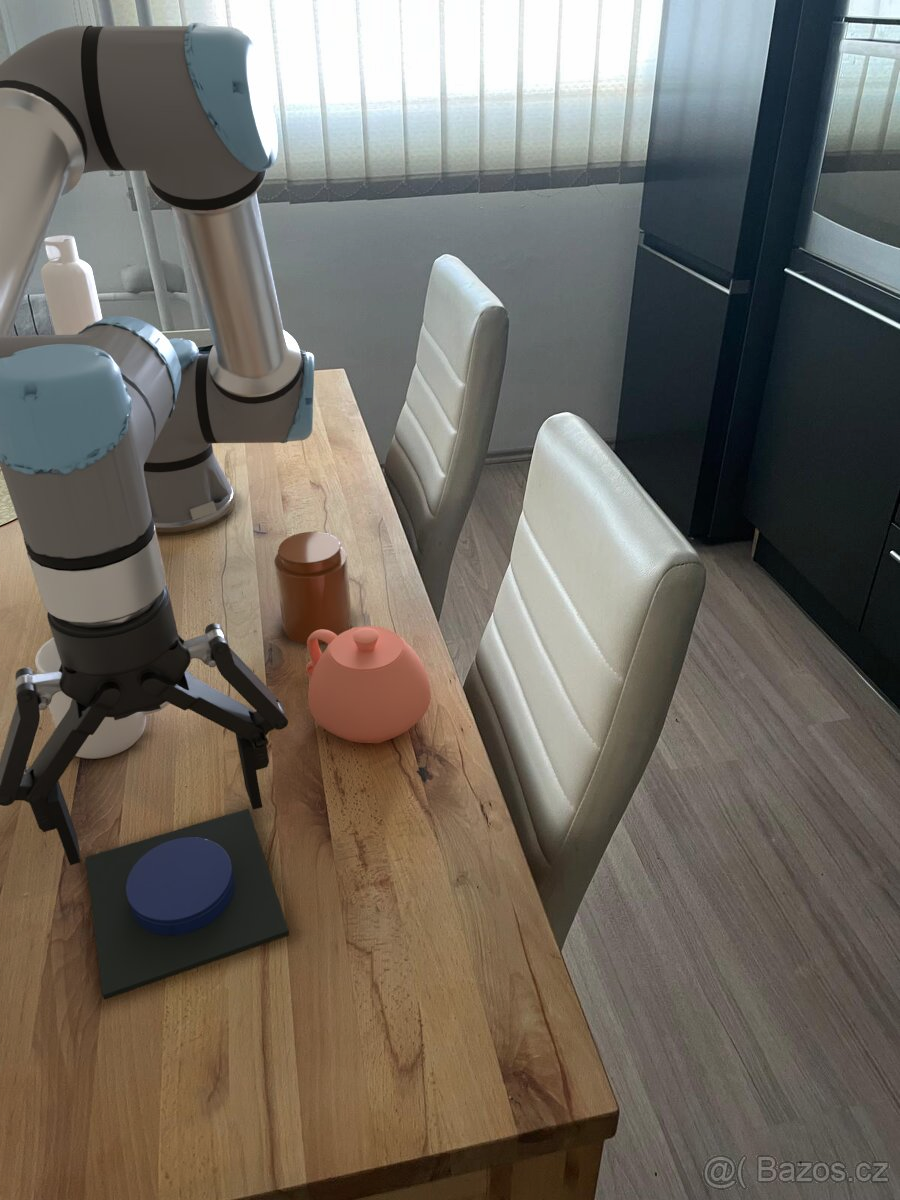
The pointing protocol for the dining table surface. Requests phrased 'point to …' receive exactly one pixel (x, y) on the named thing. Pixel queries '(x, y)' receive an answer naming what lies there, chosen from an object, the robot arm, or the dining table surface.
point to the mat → (152, 957)
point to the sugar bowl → (366, 684)
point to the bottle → (69, 287)
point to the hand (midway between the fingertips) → (166, 823)
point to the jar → (313, 585)
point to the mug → (110, 732)
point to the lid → (180, 886)
